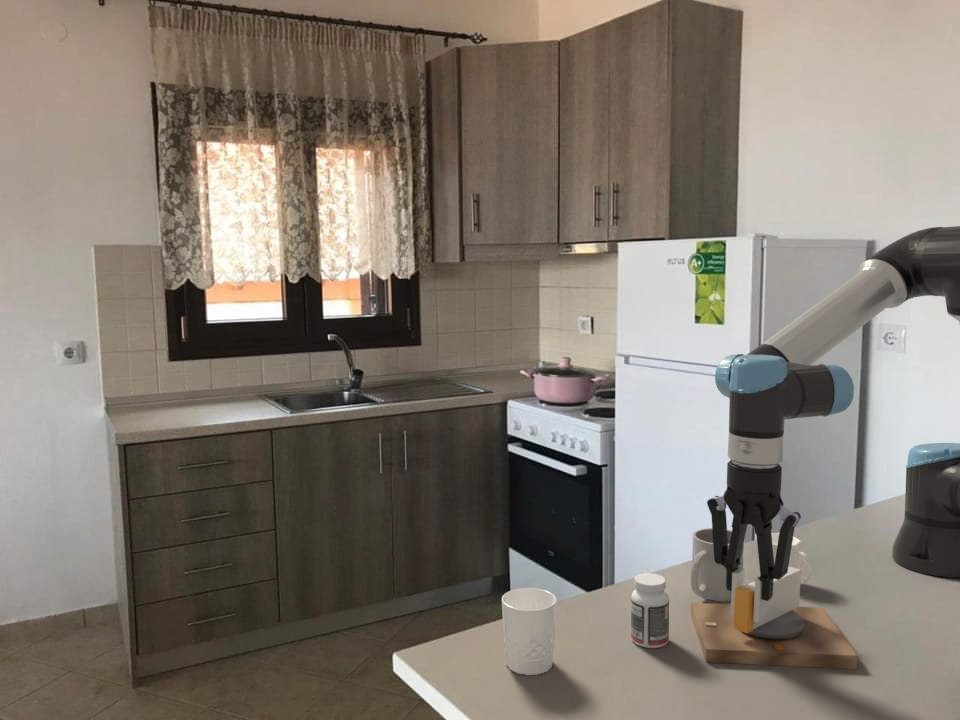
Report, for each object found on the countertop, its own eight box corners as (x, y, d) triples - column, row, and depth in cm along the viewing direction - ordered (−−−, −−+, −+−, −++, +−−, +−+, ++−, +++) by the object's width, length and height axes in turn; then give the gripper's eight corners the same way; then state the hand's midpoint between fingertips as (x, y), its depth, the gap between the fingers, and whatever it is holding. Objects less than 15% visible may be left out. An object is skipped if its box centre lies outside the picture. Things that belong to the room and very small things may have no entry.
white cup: (540, 683, 112) (540, 615, 111) (492, 669, 116) (491, 602, 115) (565, 659, 118) (565, 594, 117) (519, 646, 123) (518, 583, 121)
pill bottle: (670, 635, 126) (671, 574, 124) (666, 652, 120) (667, 588, 119) (633, 630, 127) (634, 570, 126) (628, 646, 122) (628, 583, 121)
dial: (765, 601, 132) (766, 558, 131) (823, 622, 124) (825, 576, 123) (711, 626, 123) (712, 580, 122) (770, 650, 115) (772, 601, 114)
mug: (714, 577, 148) (715, 525, 147) (752, 593, 141) (754, 538, 140) (666, 593, 141) (667, 538, 140) (704, 610, 134) (706, 552, 133)
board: (823, 619, 130) (823, 606, 130) (857, 669, 114) (857, 654, 114) (690, 614, 133) (690, 601, 133) (705, 662, 117) (706, 647, 117)
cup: (776, 571, 150) (777, 530, 149) (822, 590, 142) (823, 546, 141) (749, 579, 147) (750, 536, 146) (795, 598, 138) (796, 553, 137)
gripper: (692, 458, 119) (687, 608, 122) (800, 477, 109) (792, 641, 112) (714, 448, 125) (709, 592, 128) (819, 465, 114) (811, 622, 117)
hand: (748, 615), depth 120 cm, fingers closed on dial, 3 cm apart
